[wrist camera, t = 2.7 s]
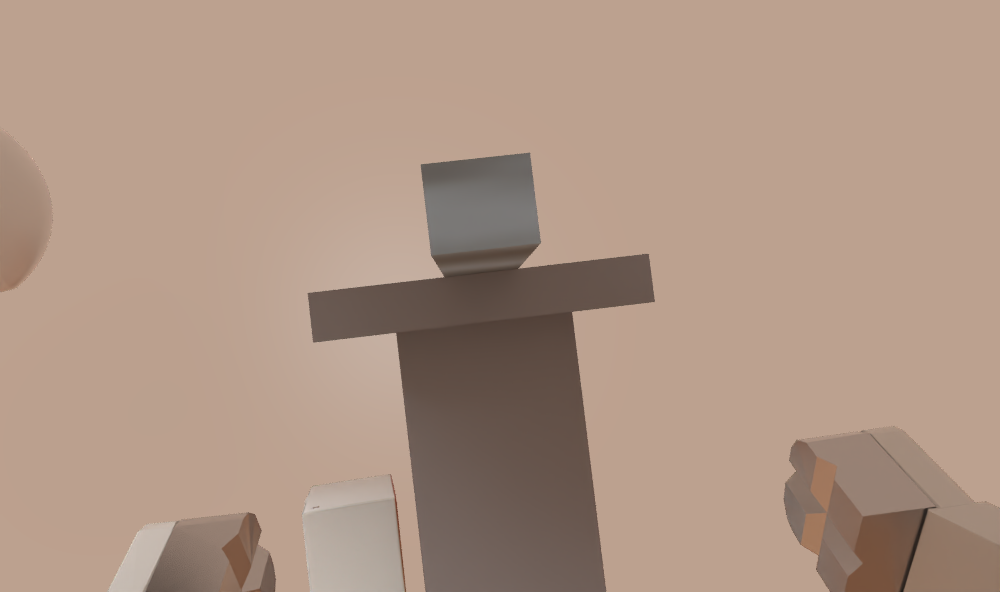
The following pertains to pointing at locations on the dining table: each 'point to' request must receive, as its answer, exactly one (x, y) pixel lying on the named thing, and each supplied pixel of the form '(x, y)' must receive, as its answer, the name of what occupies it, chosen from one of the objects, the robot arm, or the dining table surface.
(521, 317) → the plinth
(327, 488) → the small box
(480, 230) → the block
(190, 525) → the robot arm
